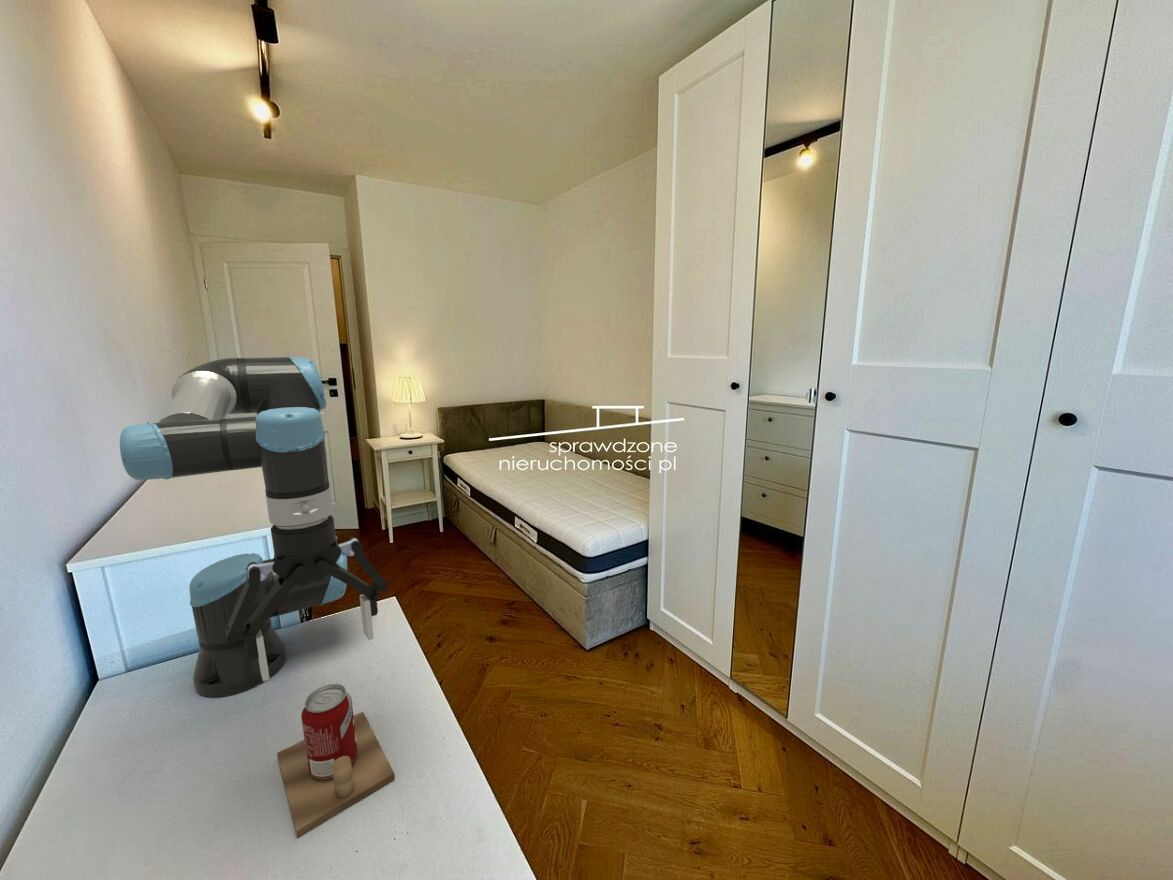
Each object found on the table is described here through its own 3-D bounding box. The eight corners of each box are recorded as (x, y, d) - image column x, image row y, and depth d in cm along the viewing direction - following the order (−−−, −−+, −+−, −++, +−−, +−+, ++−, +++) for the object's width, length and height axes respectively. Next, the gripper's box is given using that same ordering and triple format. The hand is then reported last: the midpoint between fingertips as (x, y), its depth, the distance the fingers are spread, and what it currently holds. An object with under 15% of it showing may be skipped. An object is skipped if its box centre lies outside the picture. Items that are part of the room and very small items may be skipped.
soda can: (337, 786, 68) (328, 718, 66) (298, 778, 70) (288, 710, 67) (367, 748, 75) (360, 684, 72) (331, 741, 76) (323, 678, 74)
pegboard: (277, 759, 74) (272, 726, 73) (363, 717, 82) (360, 687, 81) (297, 838, 62) (291, 801, 61) (394, 779, 71) (391, 746, 69)
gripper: (184, 555, 53) (214, 712, 57) (403, 506, 69) (413, 631, 74) (183, 535, 58) (211, 679, 63) (386, 494, 75) (396, 611, 79)
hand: (320, 654), depth 68 cm, fingers open, 13 cm apart
